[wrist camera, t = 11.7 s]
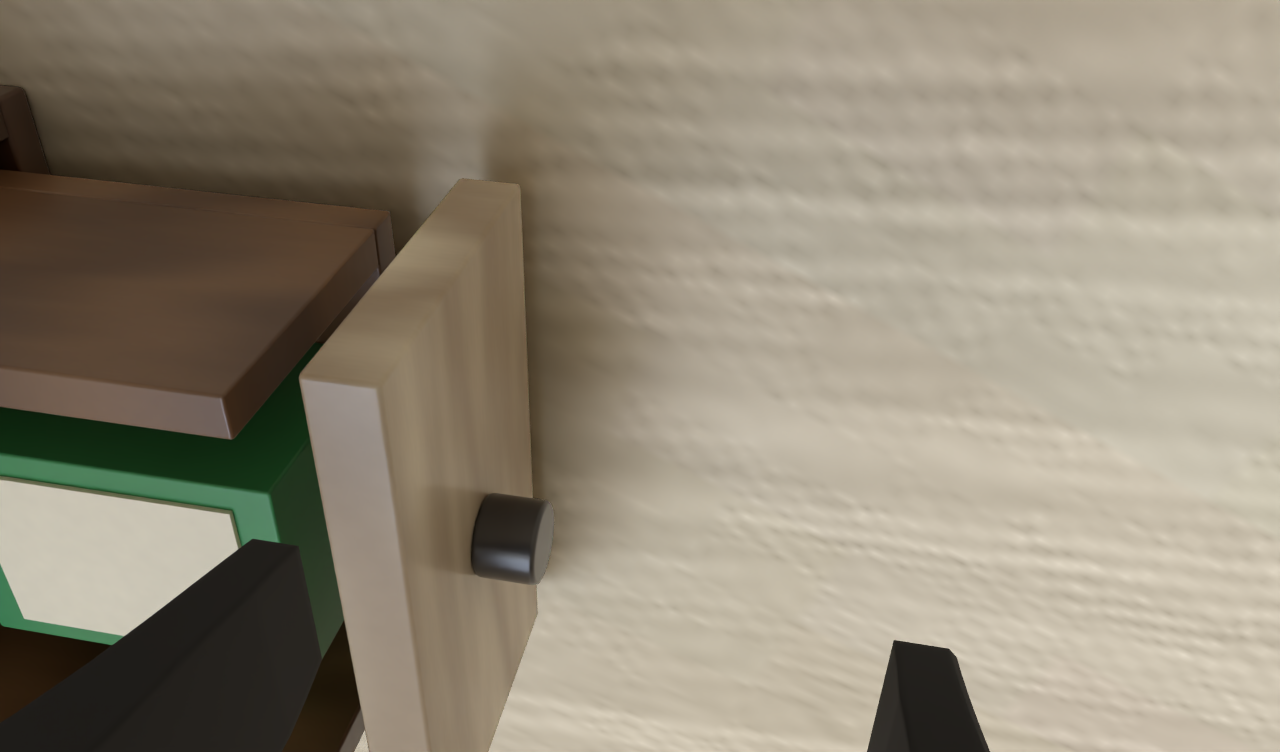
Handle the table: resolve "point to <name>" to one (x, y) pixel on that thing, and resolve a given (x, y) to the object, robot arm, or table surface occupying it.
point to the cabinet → (19, 134)
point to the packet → (151, 515)
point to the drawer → (310, 415)
